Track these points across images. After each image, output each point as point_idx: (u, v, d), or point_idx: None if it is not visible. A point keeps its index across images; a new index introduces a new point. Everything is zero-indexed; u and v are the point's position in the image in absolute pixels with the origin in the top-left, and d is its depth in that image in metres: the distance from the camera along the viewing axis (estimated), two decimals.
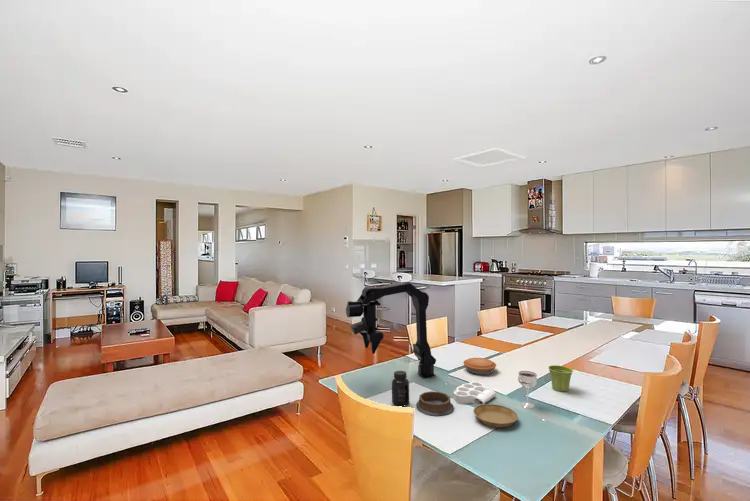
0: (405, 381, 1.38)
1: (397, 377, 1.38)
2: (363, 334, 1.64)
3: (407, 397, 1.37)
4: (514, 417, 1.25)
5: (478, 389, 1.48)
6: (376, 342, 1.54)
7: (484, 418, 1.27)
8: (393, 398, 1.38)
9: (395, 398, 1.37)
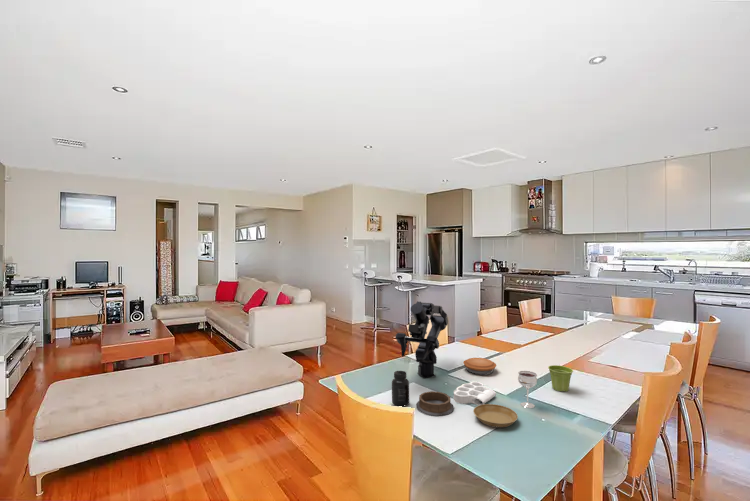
0: (405, 381, 1.38)
1: (397, 377, 1.38)
2: (404, 342, 1.58)
3: (407, 397, 1.37)
4: (514, 417, 1.25)
5: (478, 389, 1.48)
6: (429, 350, 1.54)
7: (484, 418, 1.27)
8: (393, 398, 1.38)
9: (395, 398, 1.37)
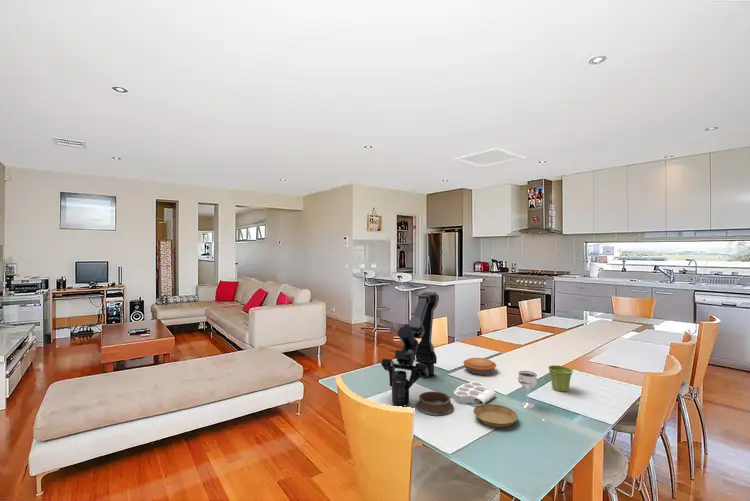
0: (405, 381, 1.38)
1: (397, 377, 1.38)
2: (392, 369, 1.43)
3: (407, 397, 1.37)
4: (514, 417, 1.25)
5: (478, 389, 1.48)
6: (414, 378, 1.40)
7: (484, 418, 1.27)
8: (393, 398, 1.38)
9: (395, 398, 1.37)
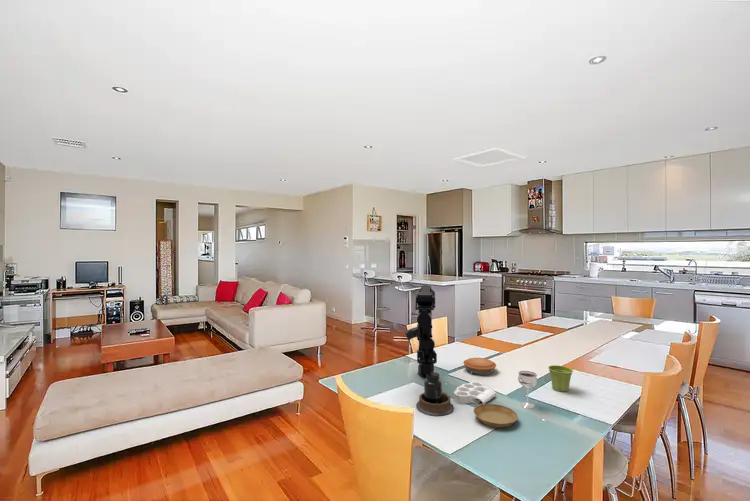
0: (440, 382, 1.35)
1: (433, 379, 1.34)
2: None
3: None
4: (514, 417, 1.25)
5: (478, 389, 1.48)
6: (428, 350, 1.47)
7: (484, 418, 1.27)
8: (429, 401, 1.33)
9: (432, 401, 1.33)
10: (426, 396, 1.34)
